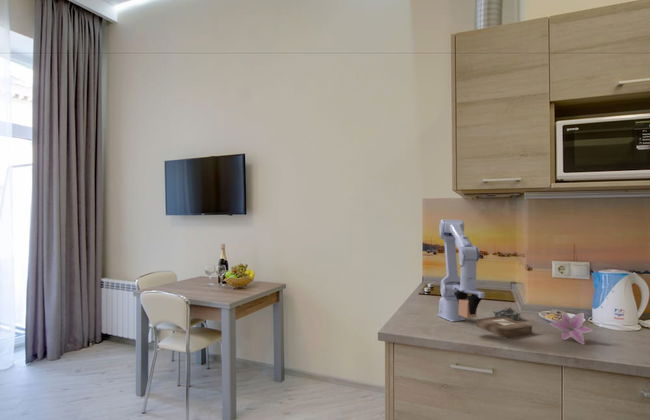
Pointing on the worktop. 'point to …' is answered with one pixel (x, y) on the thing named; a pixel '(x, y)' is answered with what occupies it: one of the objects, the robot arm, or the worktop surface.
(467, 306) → the terracotta block
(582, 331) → the lily
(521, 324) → the walnut base
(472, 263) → the robot arm
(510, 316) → the egg carton
